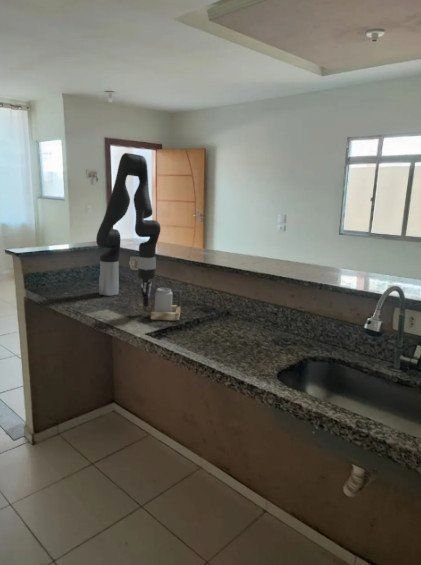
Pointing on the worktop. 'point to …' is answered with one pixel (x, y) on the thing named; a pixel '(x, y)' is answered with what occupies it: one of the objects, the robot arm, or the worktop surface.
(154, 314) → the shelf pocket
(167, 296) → the can
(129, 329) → the worktop surface
